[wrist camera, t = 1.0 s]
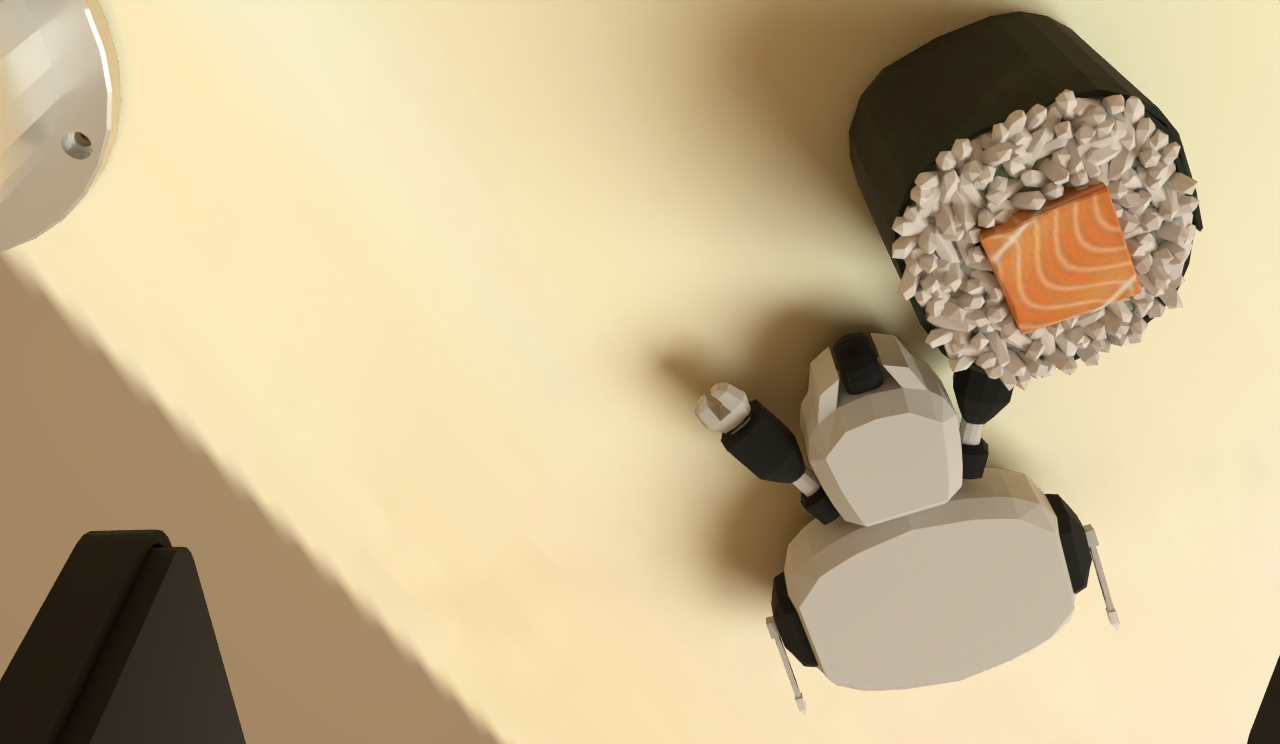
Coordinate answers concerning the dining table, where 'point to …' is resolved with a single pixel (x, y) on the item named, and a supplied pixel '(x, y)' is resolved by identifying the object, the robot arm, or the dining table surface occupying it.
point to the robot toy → (906, 524)
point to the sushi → (1024, 196)
